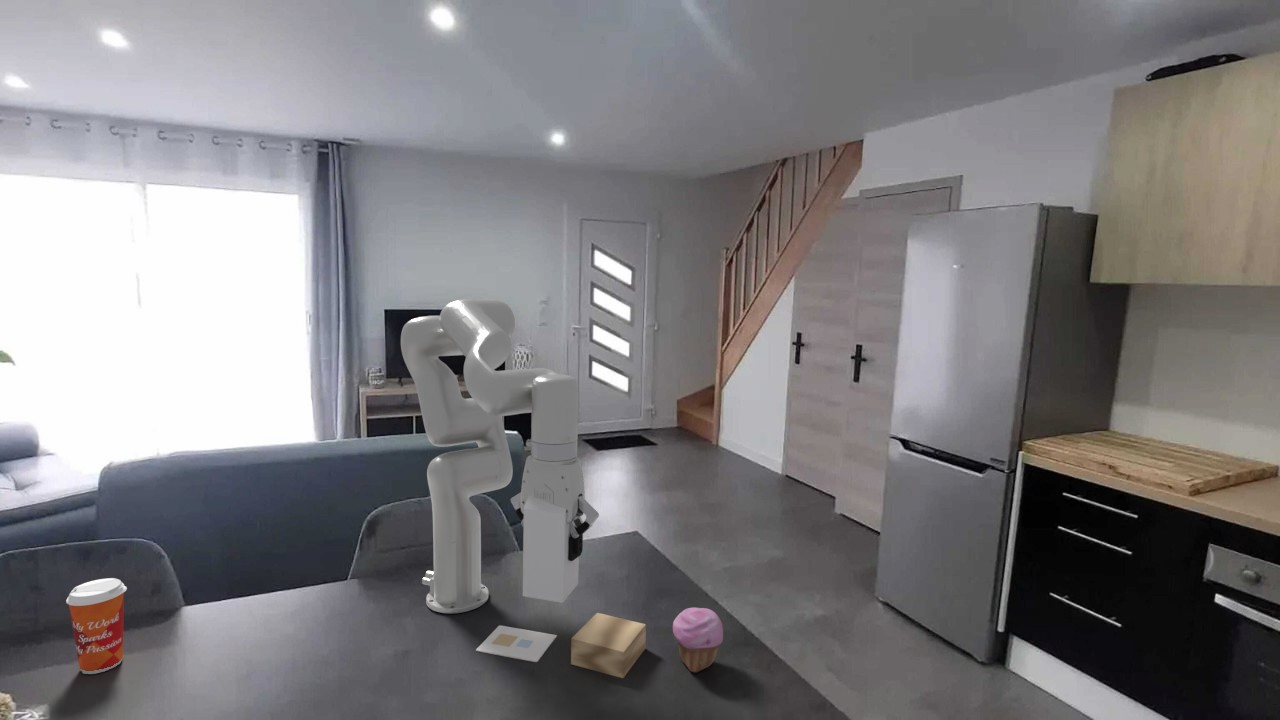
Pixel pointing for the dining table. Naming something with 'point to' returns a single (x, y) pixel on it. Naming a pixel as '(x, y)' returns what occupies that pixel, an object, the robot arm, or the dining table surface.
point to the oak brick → (608, 644)
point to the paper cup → (98, 622)
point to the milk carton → (547, 552)
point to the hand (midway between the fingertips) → (553, 552)
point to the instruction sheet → (517, 643)
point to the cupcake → (698, 637)
